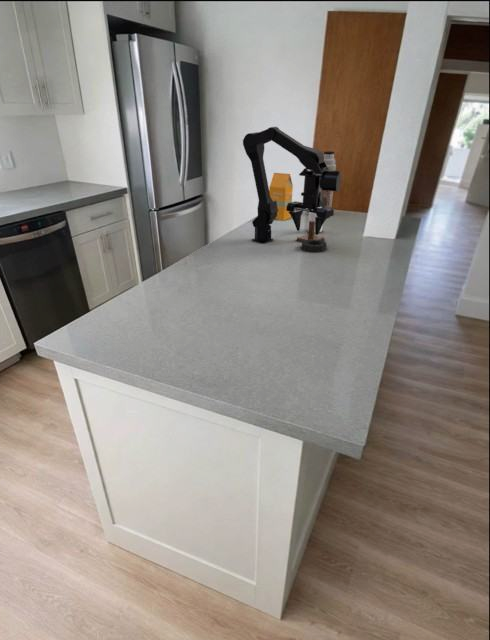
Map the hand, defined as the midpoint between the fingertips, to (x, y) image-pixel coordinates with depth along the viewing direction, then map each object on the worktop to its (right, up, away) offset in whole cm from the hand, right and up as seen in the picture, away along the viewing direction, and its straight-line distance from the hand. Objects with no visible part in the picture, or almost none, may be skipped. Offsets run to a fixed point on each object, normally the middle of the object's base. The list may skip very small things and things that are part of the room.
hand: (307, 232), depth 167 cm
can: (+7, +9, +22) cm, 25 cm away
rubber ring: (+3, -6, +1) cm, 7 cm away
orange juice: (-6, +24, +45) cm, 51 cm away
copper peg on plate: (+3, +1, +11) cm, 11 cm away
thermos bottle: (+17, +29, +51) cm, 61 cm away
